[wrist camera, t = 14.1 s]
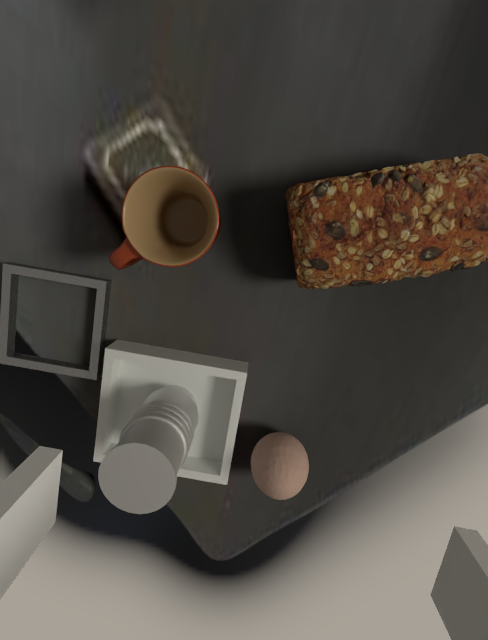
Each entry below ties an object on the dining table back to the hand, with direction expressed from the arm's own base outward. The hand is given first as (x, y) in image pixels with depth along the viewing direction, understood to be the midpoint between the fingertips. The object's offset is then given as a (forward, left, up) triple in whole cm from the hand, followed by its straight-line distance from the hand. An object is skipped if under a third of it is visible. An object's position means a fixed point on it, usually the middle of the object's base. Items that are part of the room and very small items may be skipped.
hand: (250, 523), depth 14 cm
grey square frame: (+5, -24, -36) cm, 43 cm away
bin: (+13, -8, -36) cm, 39 cm away
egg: (+16, +5, -36) cm, 39 cm away
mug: (-8, -11, -36) cm, 38 cm away
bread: (-12, +11, -36) cm, 39 cm away
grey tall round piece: (+13, -8, -35) cm, 38 cm away
